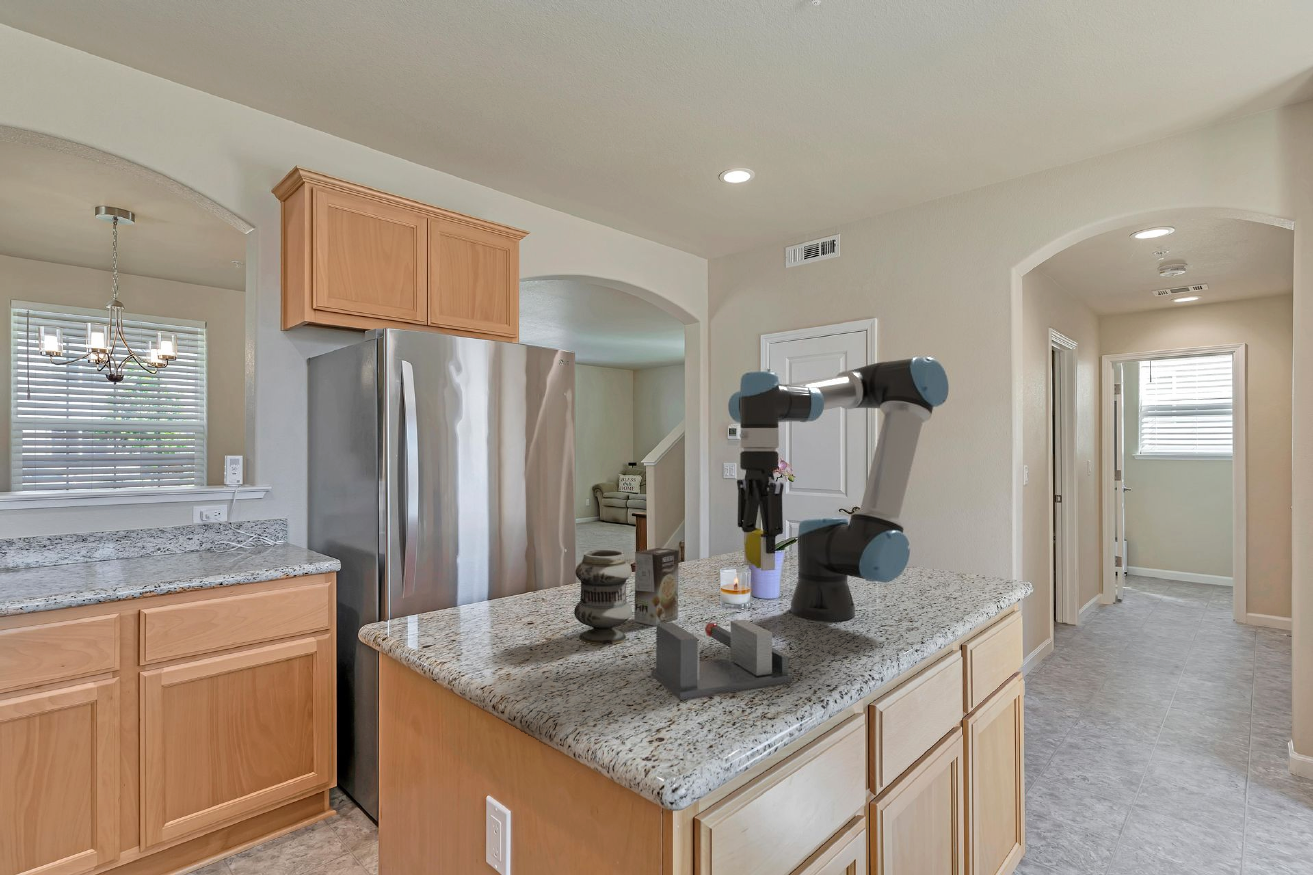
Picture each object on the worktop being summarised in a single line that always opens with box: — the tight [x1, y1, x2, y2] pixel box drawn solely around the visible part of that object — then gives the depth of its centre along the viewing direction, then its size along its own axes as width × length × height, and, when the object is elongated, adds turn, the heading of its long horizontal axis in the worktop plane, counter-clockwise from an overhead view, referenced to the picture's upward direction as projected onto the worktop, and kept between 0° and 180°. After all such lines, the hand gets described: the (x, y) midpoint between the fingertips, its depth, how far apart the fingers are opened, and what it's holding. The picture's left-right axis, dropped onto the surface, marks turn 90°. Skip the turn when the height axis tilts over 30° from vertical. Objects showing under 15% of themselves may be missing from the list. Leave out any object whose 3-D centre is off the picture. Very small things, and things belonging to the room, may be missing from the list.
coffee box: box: [633, 547, 680, 627], centre depth 150 cm, size 9×6×16 cm
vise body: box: [650, 621, 792, 701], centre depth 112 cm, size 21×12×9 cm, turn 113°
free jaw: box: [704, 619, 773, 676], centre depth 119 cm, size 3×20×7 cm, turn 23°
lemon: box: [745, 527, 763, 570], centre depth 128 cm, size 6×6×8 cm
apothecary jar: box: [573, 548, 633, 646], centre depth 135 cm, size 12×12×18 cm
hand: (759, 566), depth 128 cm, fingers closed on lemon, 5 cm apart
